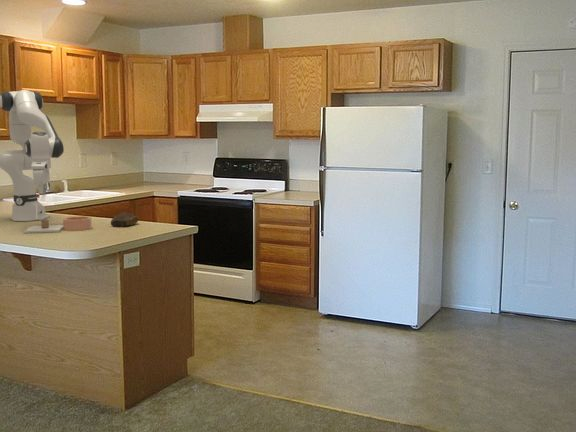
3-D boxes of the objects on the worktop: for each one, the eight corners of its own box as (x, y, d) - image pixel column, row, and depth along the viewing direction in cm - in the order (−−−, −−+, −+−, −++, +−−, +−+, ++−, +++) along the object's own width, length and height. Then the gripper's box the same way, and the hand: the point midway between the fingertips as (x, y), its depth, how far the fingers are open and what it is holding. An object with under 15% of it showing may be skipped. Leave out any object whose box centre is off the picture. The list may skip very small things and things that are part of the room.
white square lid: (32, 227, 330) (31, 218, 330) (64, 226, 333) (64, 217, 332) (25, 233, 315) (24, 222, 314) (59, 231, 318) (58, 221, 317)
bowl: (66, 228, 332) (66, 216, 331) (92, 227, 334) (92, 216, 333) (62, 232, 319) (61, 220, 318) (89, 231, 321) (89, 219, 321)
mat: (31, 228, 332) (31, 227, 332) (66, 227, 335) (66, 226, 335) (23, 234, 313) (23, 233, 313) (59, 233, 316) (59, 232, 316)
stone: (108, 227, 337) (108, 216, 335) (123, 221, 349) (123, 210, 348) (125, 229, 333) (125, 218, 332) (140, 223, 346) (139, 212, 345)
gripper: (39, 163, 329) (40, 190, 331) (30, 166, 309) (32, 194, 311) (52, 163, 330) (53, 190, 332) (44, 166, 310) (45, 194, 312)
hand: (43, 192), depth 321 cm, fingers open, 8 cm apart
